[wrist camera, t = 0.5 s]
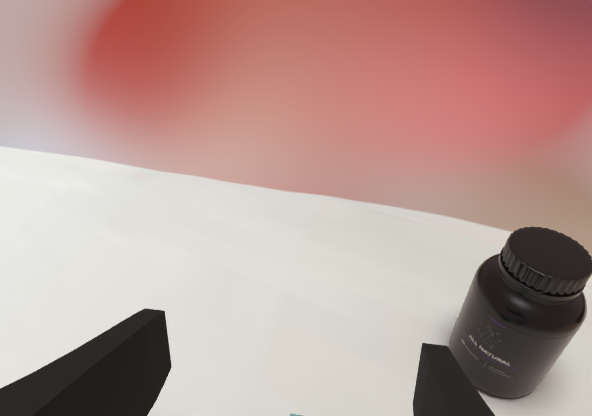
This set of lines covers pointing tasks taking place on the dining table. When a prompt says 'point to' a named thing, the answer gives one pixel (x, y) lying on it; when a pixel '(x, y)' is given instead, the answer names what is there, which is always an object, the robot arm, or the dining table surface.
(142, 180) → the dining table surface
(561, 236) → the supplement bottle
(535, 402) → the dining table surface
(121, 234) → the dining table surface
